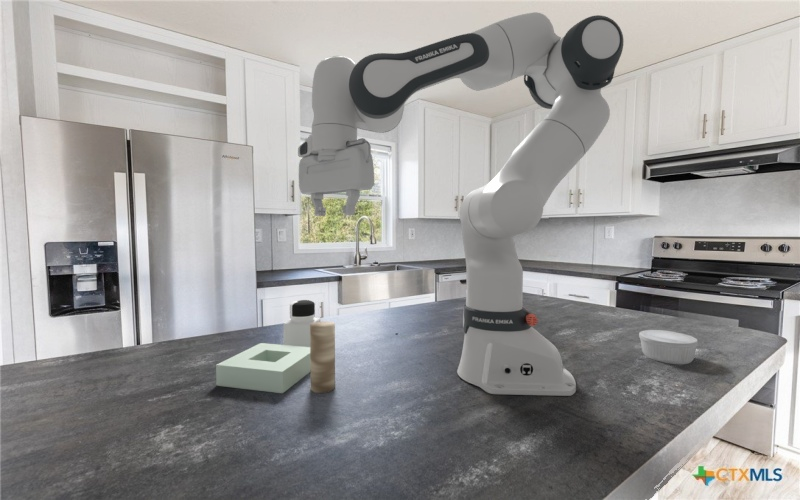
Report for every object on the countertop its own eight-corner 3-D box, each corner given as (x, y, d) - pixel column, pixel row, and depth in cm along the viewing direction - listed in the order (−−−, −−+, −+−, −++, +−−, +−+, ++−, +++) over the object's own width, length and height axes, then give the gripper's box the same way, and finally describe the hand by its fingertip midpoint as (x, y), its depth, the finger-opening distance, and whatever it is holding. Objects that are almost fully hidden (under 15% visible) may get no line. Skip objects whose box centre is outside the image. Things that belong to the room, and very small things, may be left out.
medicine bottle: (321, 344, 95) (320, 298, 94) (311, 353, 88) (311, 304, 87) (294, 343, 95) (293, 298, 95) (283, 352, 88) (282, 303, 88)
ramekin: (644, 362, 83) (645, 339, 83) (633, 348, 93) (634, 327, 93) (705, 369, 79) (706, 345, 78) (687, 353, 89) (688, 332, 89)
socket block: (317, 365, 80) (317, 347, 79) (282, 393, 66) (282, 371, 66) (260, 360, 83) (260, 343, 83) (216, 385, 69) (216, 364, 69)
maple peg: (338, 384, 70) (338, 322, 70) (329, 394, 66) (328, 328, 65) (317, 381, 71) (316, 321, 71) (306, 391, 67) (305, 326, 66)
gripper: (382, 139, 67) (381, 215, 68) (318, 154, 81) (318, 217, 82) (356, 132, 63) (355, 213, 63) (293, 149, 77) (293, 215, 77)
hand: (333, 215), depth 73 cm, fingers open, 8 cm apart
